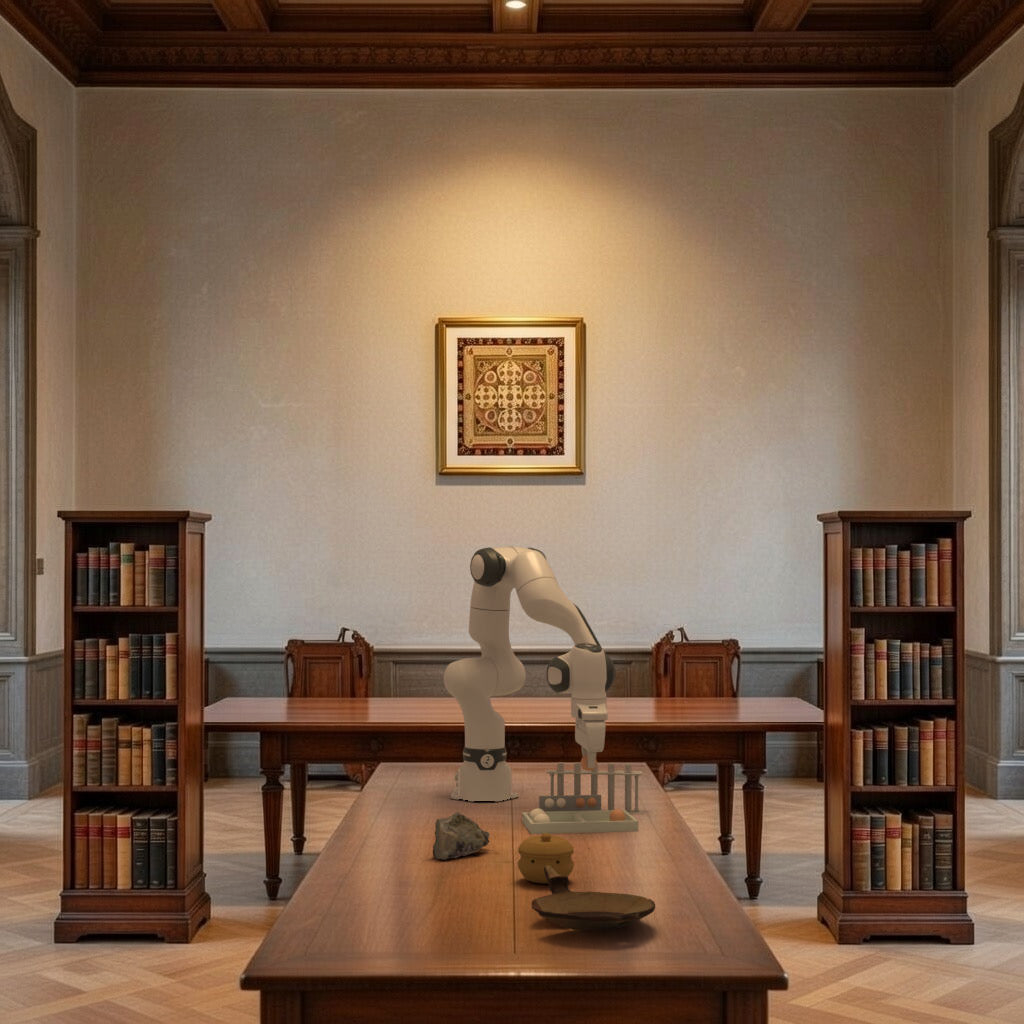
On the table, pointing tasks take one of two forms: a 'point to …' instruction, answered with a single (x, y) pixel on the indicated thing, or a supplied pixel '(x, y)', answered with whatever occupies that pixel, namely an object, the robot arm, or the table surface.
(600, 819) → the twin dish
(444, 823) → the mineral rock
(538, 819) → the ivory ball
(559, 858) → the pot
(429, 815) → the table surface
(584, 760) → the terracotta ball
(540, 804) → the card
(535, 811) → the ivory ball
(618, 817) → the terracotta ball
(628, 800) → the test tube rack
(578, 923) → the frying pan
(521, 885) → the table surface
